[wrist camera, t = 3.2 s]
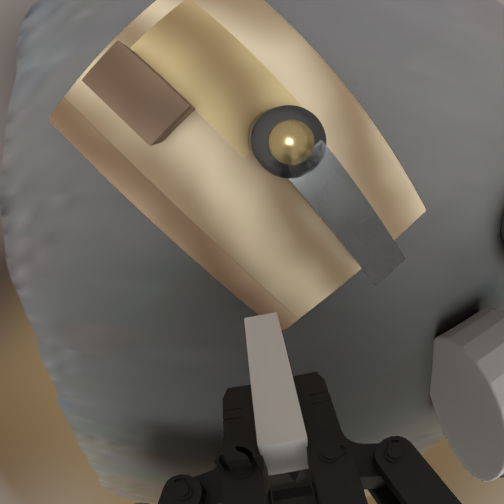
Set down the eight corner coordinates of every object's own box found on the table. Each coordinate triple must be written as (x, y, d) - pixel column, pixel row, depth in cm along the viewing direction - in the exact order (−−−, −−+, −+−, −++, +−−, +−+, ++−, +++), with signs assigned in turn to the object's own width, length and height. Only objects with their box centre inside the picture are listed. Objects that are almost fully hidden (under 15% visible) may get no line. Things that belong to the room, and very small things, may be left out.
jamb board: (278, 324, 26) (287, 361, 22) (56, 118, 17) (21, 122, 13) (418, 206, 23) (451, 225, 18) (213, -33, 14) (211, -65, 9)
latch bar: (234, 136, 18) (236, 139, 15) (281, 95, 17) (295, 89, 14) (350, 267, 23) (370, 294, 19) (388, 234, 22) (414, 255, 18)
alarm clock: (464, 385, 36) (518, 471, 18) (427, 407, 37) (477, 502, 19) (481, 286, 27) (586, 395, 10) (434, 313, 28) (536, 449, 10)
